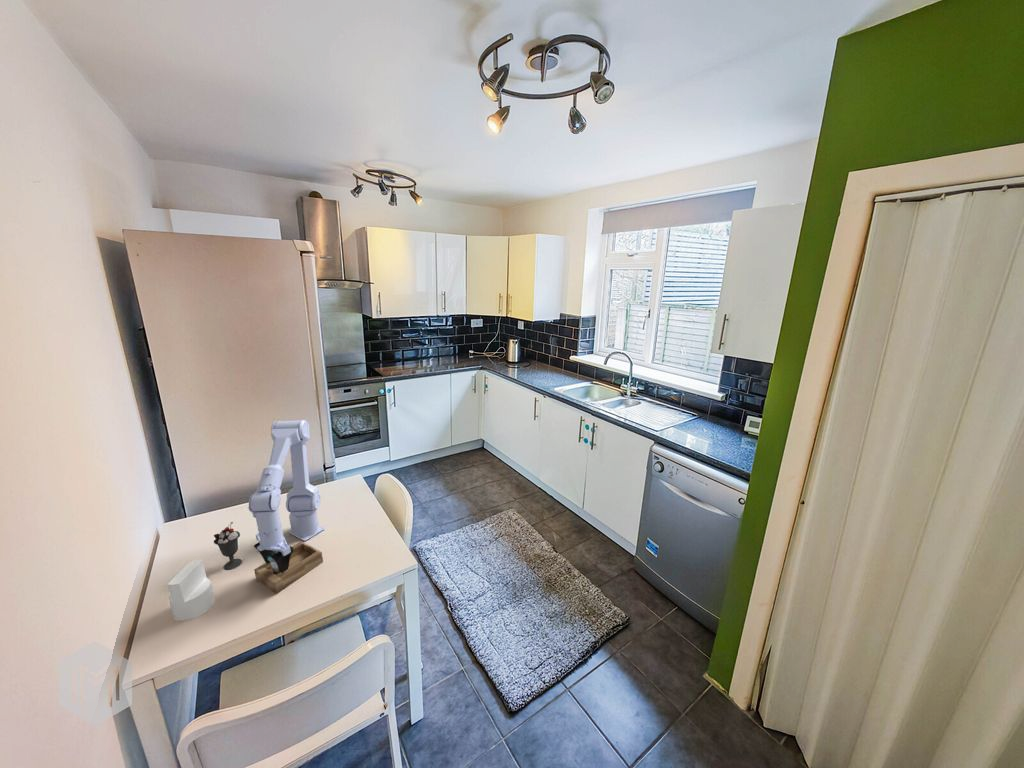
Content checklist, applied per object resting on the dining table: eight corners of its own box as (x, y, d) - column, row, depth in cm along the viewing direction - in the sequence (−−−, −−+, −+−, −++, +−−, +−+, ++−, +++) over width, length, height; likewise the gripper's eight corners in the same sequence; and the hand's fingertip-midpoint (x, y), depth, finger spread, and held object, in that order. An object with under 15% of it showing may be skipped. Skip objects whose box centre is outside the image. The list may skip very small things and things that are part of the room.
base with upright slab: (200, 620, 102) (190, 583, 99) (165, 622, 101) (154, 585, 98) (222, 593, 111) (214, 559, 107) (190, 595, 110) (180, 560, 107)
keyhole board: (256, 579, 116) (254, 569, 115) (302, 550, 128) (301, 541, 127) (277, 593, 110) (274, 583, 109) (323, 561, 123) (321, 552, 122)
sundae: (250, 559, 124) (242, 520, 120) (229, 574, 118) (220, 533, 114) (236, 554, 126) (227, 516, 122) (215, 568, 120) (205, 528, 116)
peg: (268, 576, 115) (264, 556, 113) (283, 567, 119) (279, 547, 117) (276, 583, 113) (272, 561, 111) (291, 573, 117) (288, 552, 115)
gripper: (242, 527, 112) (250, 565, 115) (270, 543, 105) (277, 583, 108) (266, 515, 117) (273, 551, 121) (294, 529, 111) (301, 568, 114)
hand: (277, 566), depth 115 cm, fingers open, 7 cm apart
